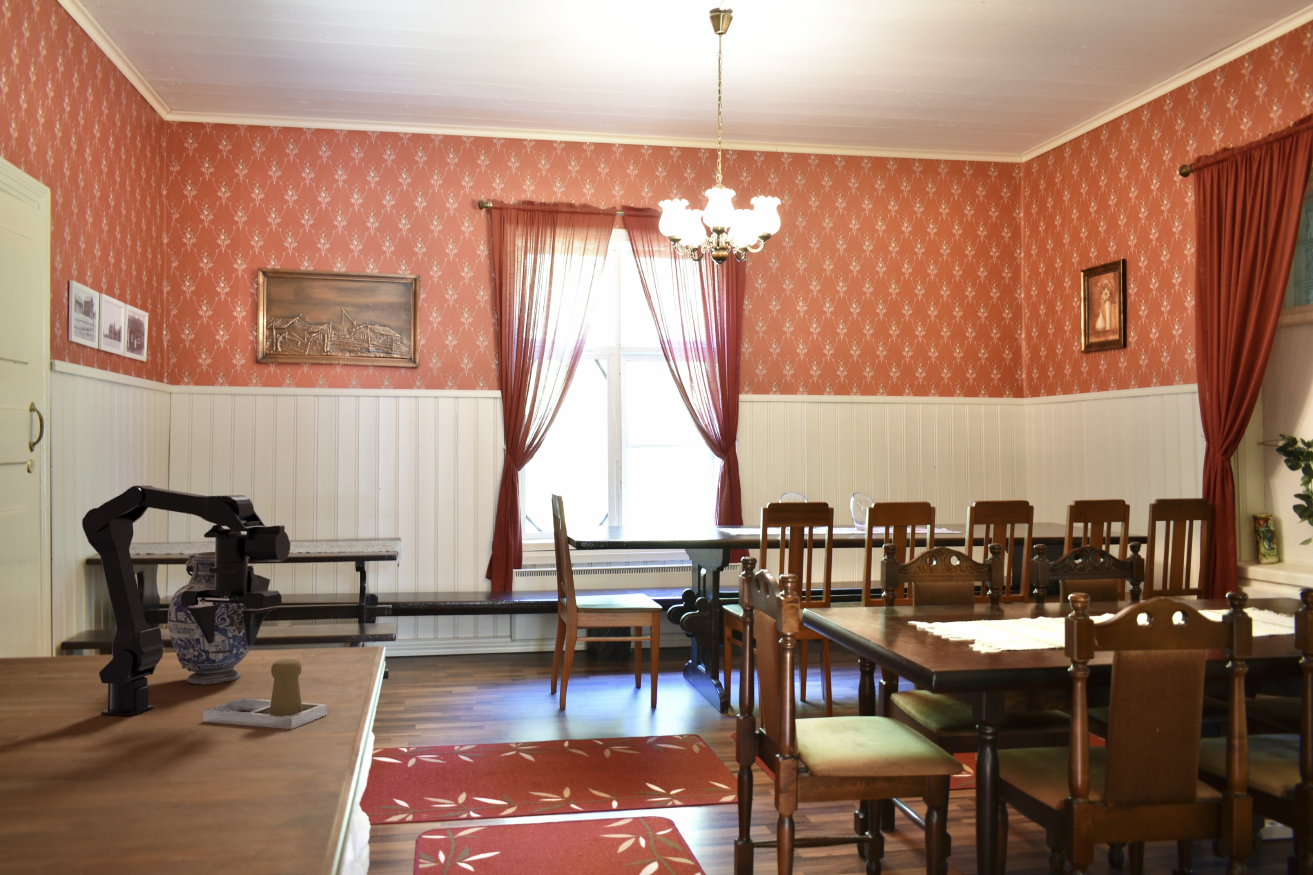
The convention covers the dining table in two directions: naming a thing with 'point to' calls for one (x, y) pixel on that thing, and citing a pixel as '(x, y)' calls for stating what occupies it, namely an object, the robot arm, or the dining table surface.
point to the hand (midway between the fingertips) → (230, 644)
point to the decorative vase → (188, 639)
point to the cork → (286, 688)
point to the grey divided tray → (261, 714)
